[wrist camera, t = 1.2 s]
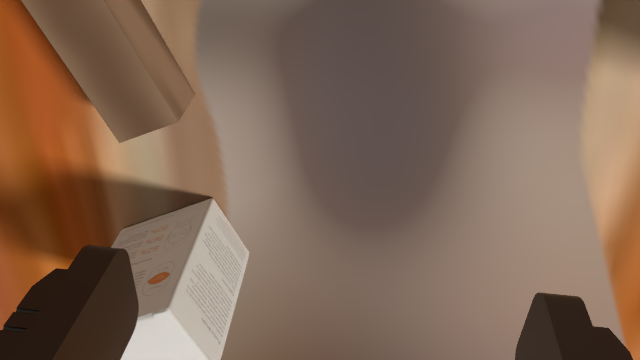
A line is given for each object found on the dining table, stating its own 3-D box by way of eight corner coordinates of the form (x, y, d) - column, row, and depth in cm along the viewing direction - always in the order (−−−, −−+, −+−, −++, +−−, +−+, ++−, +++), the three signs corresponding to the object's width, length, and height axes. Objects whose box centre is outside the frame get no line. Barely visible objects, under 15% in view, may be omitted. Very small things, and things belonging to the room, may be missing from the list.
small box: (162, 279, 44) (108, 399, 35) (120, 226, 41) (51, 342, 33) (253, 253, 42) (219, 374, 33) (214, 194, 39) (167, 310, 30)
